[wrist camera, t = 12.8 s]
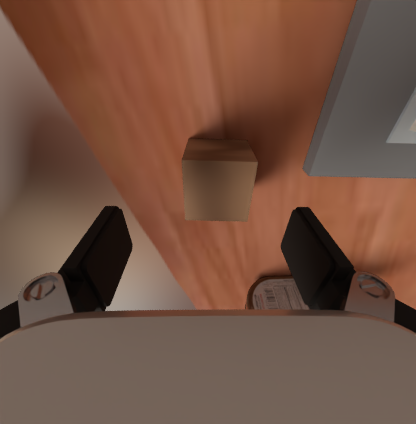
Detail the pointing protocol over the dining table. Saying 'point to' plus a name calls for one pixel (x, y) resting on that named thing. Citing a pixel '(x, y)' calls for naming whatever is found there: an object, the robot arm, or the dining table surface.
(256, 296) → the tin
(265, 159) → the dining table surface
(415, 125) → the off-white block
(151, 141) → the dining table surface
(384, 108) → the grey tray
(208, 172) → the walnut block
